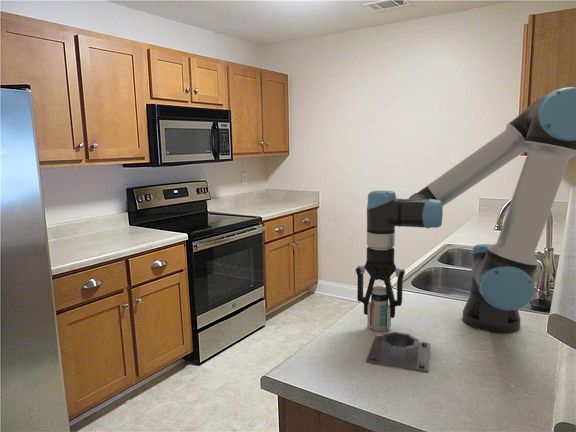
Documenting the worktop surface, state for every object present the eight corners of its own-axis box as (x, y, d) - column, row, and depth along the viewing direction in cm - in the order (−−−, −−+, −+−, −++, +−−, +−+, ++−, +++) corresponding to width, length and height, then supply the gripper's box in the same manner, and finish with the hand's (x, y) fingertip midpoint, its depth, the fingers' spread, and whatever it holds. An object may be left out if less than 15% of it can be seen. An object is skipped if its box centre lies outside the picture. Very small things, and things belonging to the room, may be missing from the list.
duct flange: (430, 345, 106) (430, 332, 106) (427, 372, 94) (428, 358, 93) (375, 337, 111) (375, 325, 111) (366, 362, 99) (366, 348, 98)
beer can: (375, 323, 120) (376, 284, 118) (390, 328, 117) (391, 287, 115) (367, 329, 117) (368, 289, 115) (382, 334, 114) (383, 292, 112)
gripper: (415, 245, 114) (412, 325, 117) (351, 242, 120) (351, 317, 123) (413, 252, 107) (410, 336, 110) (345, 247, 113) (345, 327, 117)
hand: (379, 326), depth 117 cm, fingers closed on beer can, 5 cm apart
